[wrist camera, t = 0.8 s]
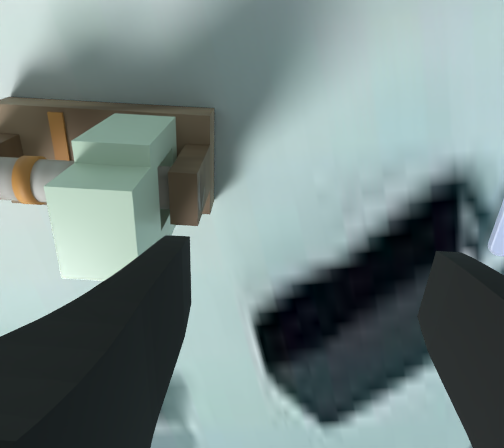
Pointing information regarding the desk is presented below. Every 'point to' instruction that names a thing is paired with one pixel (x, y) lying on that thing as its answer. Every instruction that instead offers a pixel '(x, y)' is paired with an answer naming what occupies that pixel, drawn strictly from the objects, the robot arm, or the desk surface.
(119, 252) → the mint green stepped block
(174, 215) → the rod stand
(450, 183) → the desk surface
